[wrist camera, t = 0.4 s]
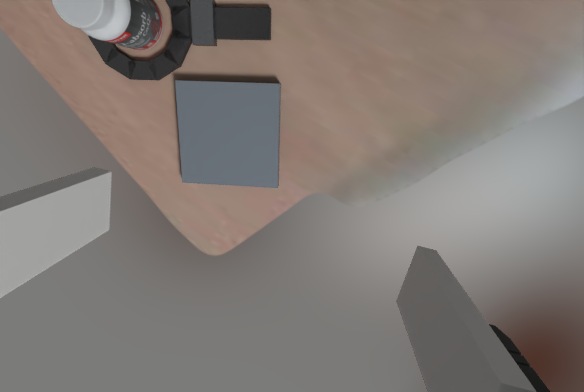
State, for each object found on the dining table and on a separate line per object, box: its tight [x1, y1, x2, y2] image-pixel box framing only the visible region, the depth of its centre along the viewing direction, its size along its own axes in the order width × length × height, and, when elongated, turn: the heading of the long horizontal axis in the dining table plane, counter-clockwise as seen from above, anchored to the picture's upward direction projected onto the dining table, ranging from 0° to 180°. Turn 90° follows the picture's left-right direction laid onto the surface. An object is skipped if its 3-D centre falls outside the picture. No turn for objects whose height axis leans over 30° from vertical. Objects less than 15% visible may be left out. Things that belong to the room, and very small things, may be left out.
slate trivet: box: [175, 80, 281, 188], centre depth 38 cm, size 12×12×1 cm
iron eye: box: [88, 0, 271, 80], centre depth 35 cm, size 12×21×1 cm, turn 88°
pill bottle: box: [52, 0, 163, 50], centre depth 31 cm, size 6×6×10 cm
